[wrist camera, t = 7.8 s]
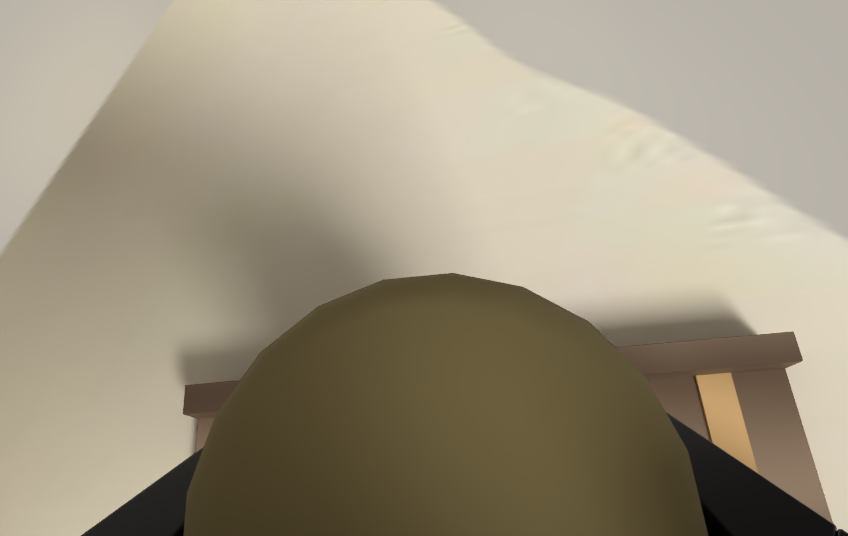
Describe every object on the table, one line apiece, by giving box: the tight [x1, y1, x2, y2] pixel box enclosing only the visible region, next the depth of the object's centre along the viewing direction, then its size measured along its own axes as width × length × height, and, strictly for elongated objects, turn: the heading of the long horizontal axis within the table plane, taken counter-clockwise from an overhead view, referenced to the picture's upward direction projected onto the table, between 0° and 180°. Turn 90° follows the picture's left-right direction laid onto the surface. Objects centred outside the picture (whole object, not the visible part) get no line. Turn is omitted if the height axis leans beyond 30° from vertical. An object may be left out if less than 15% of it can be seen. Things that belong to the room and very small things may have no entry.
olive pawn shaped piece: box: [183, 273, 708, 536], centre depth 10 cm, size 6×6×11 cm
